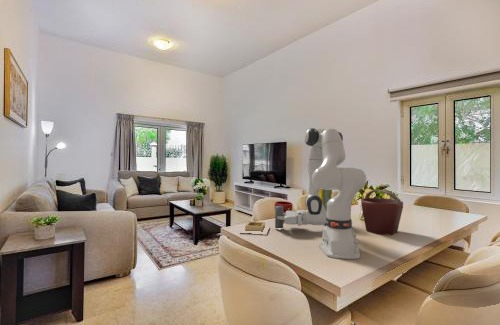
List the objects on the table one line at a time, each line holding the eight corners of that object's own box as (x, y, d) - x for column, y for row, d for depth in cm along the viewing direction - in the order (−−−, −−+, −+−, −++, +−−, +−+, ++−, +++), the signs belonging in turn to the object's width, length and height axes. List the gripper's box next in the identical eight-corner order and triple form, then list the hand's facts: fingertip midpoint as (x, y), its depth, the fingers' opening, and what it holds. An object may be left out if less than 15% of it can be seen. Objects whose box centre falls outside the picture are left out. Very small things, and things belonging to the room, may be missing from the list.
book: (332, 224, 165) (332, 187, 165) (321, 224, 165) (322, 187, 165) (324, 219, 182) (325, 184, 182) (315, 219, 182) (315, 184, 182)
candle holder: (266, 235, 142) (266, 228, 142) (239, 233, 145) (239, 226, 145) (269, 227, 158) (269, 221, 158) (245, 226, 161) (245, 220, 161)
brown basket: (411, 237, 138) (411, 192, 138) (371, 237, 138) (371, 192, 138) (386, 226, 162) (386, 187, 162) (353, 226, 162) (353, 187, 162)
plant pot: (272, 220, 178) (272, 203, 178) (276, 216, 191) (276, 200, 191) (291, 221, 175) (291, 204, 175) (293, 217, 187) (293, 201, 187)
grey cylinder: (283, 230, 152) (283, 207, 152) (274, 230, 153) (274, 207, 153) (283, 228, 157) (283, 206, 156) (275, 227, 157) (275, 205, 157)
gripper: (300, 208, 162) (279, 208, 165) (300, 215, 142) (276, 214, 145) (300, 218, 162) (278, 217, 165) (300, 226, 142) (276, 225, 145)
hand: (277, 216), depth 155 cm, fingers closed on grey cylinder, 5 cm apart
